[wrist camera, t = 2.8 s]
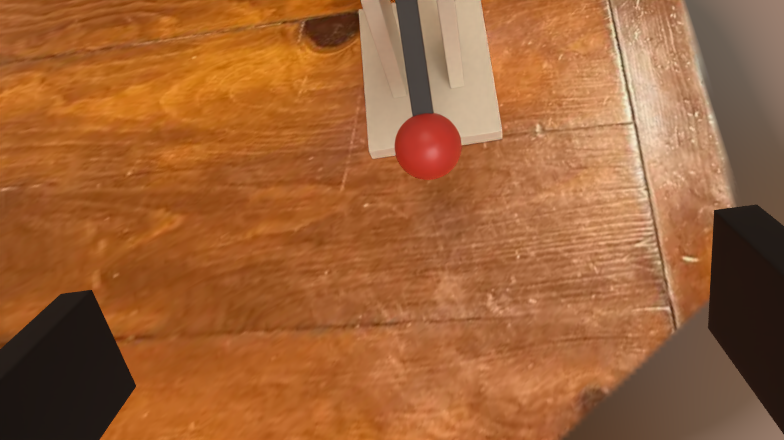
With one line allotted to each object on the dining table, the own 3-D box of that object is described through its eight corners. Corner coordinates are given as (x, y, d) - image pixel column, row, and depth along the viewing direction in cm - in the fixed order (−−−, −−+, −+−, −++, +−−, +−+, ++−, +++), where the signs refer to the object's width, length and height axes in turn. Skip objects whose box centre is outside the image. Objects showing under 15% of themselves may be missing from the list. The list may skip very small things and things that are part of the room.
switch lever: (465, 172, 33) (466, 176, 29) (403, 181, 33) (396, 186, 30) (429, -90, 31) (424, -119, 28) (364, -76, 32) (351, -102, 28)
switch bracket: (502, 139, 39) (501, -17, 25) (372, 159, 40) (304, 21, 27) (479, -3, 43) (467, -202, 30) (362, 19, 45) (298, -162, 31)
